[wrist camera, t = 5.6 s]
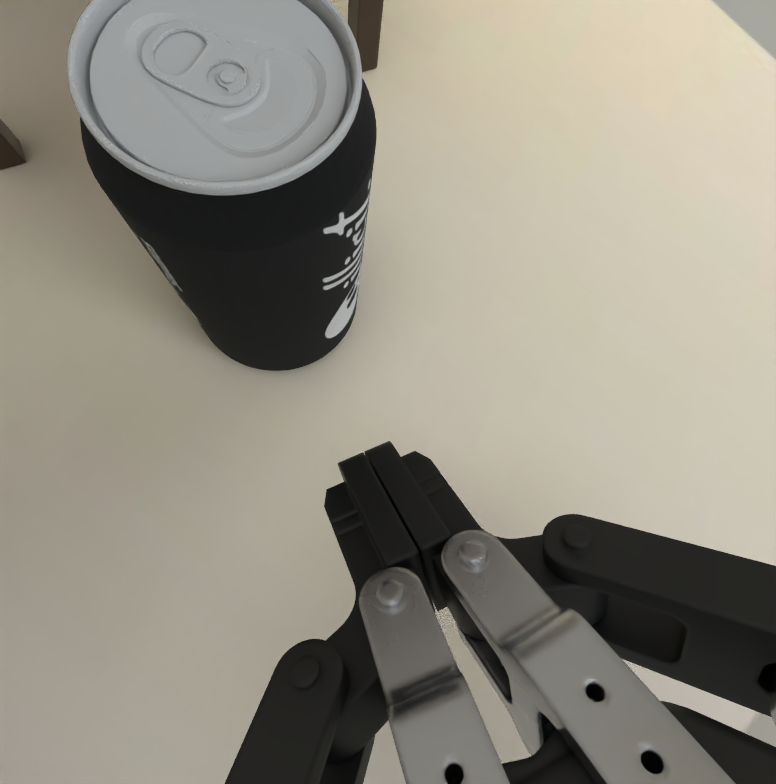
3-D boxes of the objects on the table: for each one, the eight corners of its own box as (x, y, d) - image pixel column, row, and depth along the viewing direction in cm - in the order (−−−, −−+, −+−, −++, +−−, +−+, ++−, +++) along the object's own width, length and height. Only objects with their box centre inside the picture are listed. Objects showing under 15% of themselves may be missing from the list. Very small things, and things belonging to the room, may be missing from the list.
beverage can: (307, 403, 21) (277, 269, 9) (170, 328, 21) (-37, 98, 9) (381, 278, 22) (436, 28, 11) (253, 209, 22) (169, -114, 11)
